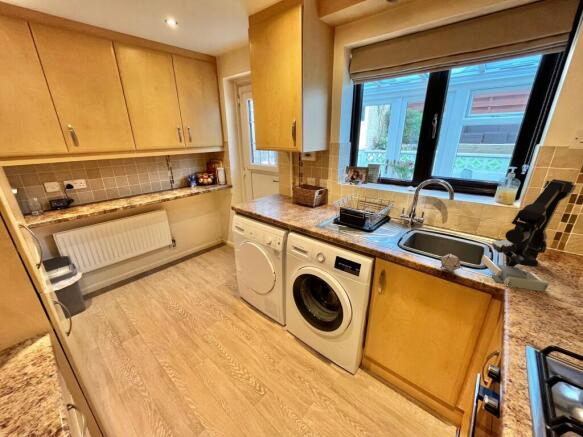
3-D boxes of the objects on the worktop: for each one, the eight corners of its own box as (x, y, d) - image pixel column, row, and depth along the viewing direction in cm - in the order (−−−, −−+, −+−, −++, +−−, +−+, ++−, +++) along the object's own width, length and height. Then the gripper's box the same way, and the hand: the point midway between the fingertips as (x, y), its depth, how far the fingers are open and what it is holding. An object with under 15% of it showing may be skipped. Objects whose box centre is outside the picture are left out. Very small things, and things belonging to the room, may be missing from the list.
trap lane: (481, 260, 115) (483, 255, 114) (512, 264, 112) (515, 258, 111) (506, 286, 97) (509, 280, 95) (544, 291, 94) (548, 285, 93)
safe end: (504, 284, 98) (508, 276, 96) (542, 289, 95) (546, 281, 94) (506, 286, 97) (510, 278, 95) (544, 291, 94) (549, 283, 92)
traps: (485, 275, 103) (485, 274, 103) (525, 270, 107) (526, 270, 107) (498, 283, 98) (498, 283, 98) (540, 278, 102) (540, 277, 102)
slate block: (495, 271, 106) (498, 264, 105) (514, 275, 105) (517, 267, 103) (503, 281, 100) (506, 273, 99) (523, 284, 98) (527, 276, 97)
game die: (442, 274, 110) (441, 252, 112) (464, 275, 104) (463, 253, 107) (437, 272, 104) (436, 249, 106) (461, 273, 98) (459, 249, 100)
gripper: (488, 226, 110) (477, 255, 116) (513, 245, 93) (499, 278, 99) (515, 229, 108) (503, 258, 114) (547, 249, 91) (530, 282, 97)
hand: (507, 268), depth 106 cm, fingers closed
